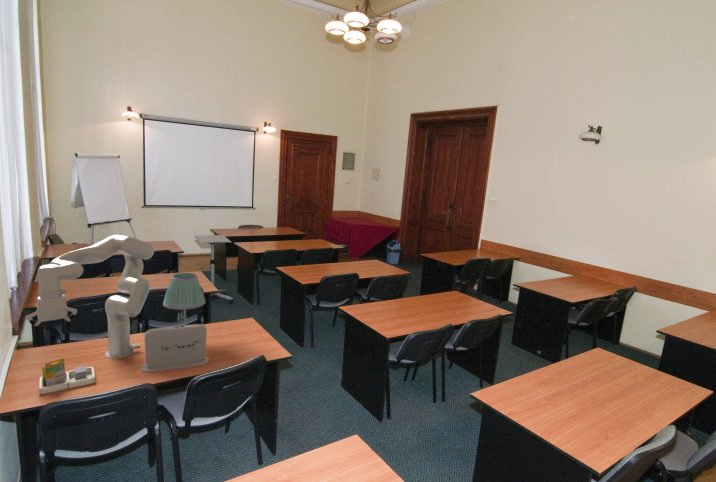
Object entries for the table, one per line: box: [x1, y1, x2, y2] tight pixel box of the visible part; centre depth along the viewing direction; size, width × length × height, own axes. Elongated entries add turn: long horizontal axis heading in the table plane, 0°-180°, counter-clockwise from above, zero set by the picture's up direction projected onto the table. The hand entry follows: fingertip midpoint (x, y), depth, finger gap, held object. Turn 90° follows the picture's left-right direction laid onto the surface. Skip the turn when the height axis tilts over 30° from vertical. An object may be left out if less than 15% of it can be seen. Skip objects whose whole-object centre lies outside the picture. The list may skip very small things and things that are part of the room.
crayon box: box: [41, 357, 66, 387], centre depth 170 cm, size 7×3×12 cm, turn 150°
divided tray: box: [38, 365, 96, 395], centre depth 174 cm, size 19×12×3 cm, turn 127°
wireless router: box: [140, 323, 210, 373], centre depth 197 cm, size 31×10×20 cm, turn 117°
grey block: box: [74, 365, 87, 381], centre depth 176 cm, size 4×6×5 cm, turn 37°
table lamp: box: [162, 272, 207, 325], centre depth 217 cm, size 22×22×40 cm
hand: (53, 331), depth 169 cm, fingers open, 9 cm apart
